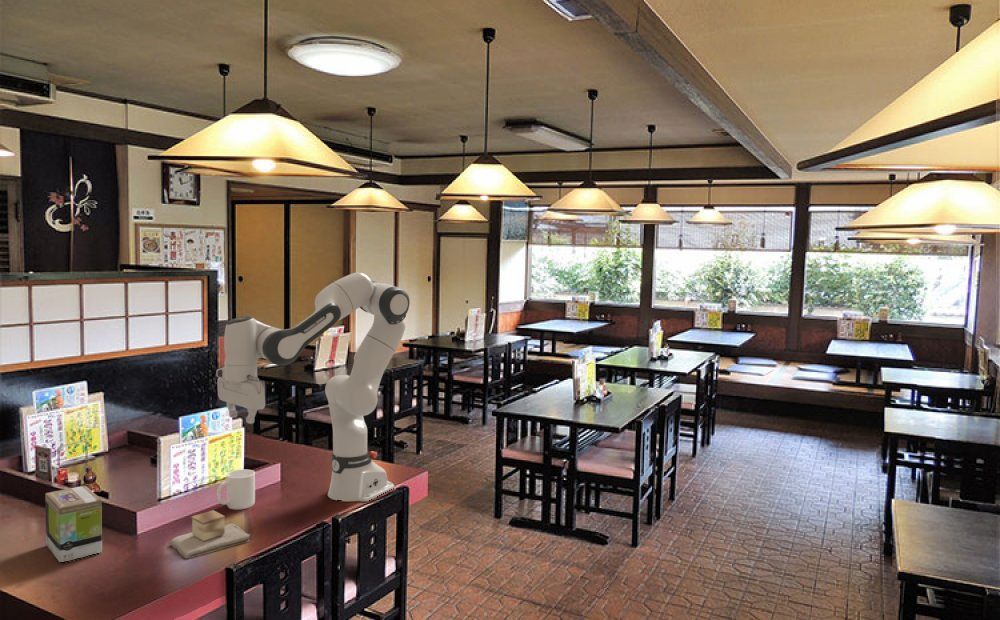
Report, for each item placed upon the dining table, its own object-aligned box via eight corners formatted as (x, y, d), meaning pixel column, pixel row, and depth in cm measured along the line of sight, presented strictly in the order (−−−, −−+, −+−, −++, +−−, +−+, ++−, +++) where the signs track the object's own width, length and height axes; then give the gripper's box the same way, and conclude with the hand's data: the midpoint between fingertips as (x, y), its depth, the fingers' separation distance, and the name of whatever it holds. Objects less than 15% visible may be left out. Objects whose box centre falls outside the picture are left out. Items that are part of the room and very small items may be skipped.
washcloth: (252, 543, 189) (252, 532, 188) (186, 563, 176) (185, 551, 176) (234, 529, 197) (234, 519, 197) (169, 548, 185) (169, 537, 184)
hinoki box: (213, 527, 191) (213, 510, 191) (225, 533, 187) (224, 516, 187) (191, 534, 186) (191, 516, 186) (203, 541, 182) (203, 522, 182)
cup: (260, 504, 214) (260, 473, 213) (224, 515, 205) (223, 483, 204) (246, 498, 220) (245, 467, 219) (210, 508, 210) (210, 476, 209)
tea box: (104, 553, 179) (102, 498, 177) (59, 565, 172) (57, 508, 170) (87, 535, 189) (86, 483, 188) (45, 545, 182) (43, 492, 181)
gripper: (270, 376, 192) (271, 424, 193) (233, 367, 205) (233, 412, 206) (250, 379, 187) (250, 428, 188) (213, 369, 200) (213, 415, 201)
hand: (241, 420), depth 197 cm, fingers open, 8 cm apart
